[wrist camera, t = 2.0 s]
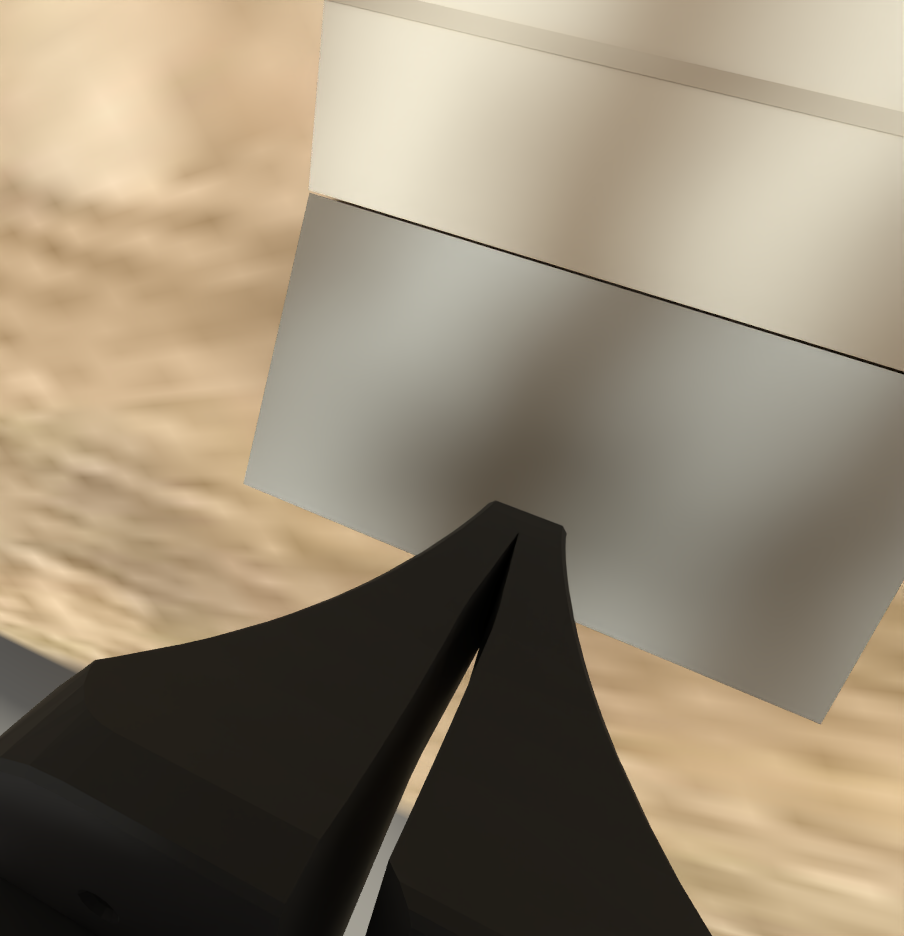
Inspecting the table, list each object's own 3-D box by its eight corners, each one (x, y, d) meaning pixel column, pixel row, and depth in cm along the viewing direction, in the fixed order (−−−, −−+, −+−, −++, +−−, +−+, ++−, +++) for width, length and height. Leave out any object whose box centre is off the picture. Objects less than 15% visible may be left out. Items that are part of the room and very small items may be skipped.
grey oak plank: (965, 399, 12) (1004, 405, 10) (803, 692, 13) (820, 724, 12) (333, 205, 14) (309, 192, 13) (270, 474, 16) (243, 483, 15)
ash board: (1342, -103, 8) (1445, -143, 7) (980, 381, 11) (1009, 404, 10) (380, -247, 10) (345, -293, 9) (336, 187, 14) (306, 190, 13)
